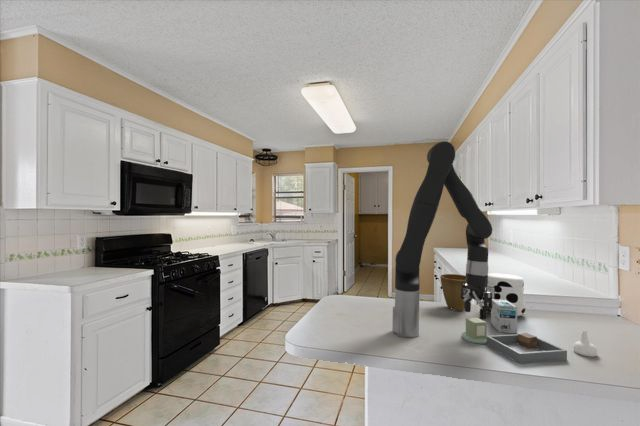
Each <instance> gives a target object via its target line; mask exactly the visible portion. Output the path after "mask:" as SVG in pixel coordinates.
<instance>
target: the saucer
mask: <svg viewBox="0 0 640 426" xmlns="http://www.w3.org/2000/svg"><path fill="white" fill-rule="evenodd" d="M487 336H488V335H487ZM487 336H486V339H473V338H472V337H470V336H468V335H466V331H464V332H461V338H462V339H463V340H464V341H467V342H469V343H473V344H477V345H478V344H479V345H487Z"/></svg>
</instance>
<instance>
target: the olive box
mask: <svg viewBox="0 0 640 426" xmlns="http://www.w3.org/2000/svg"><path fill="white" fill-rule="evenodd" d="M487 327H488V326H487V321H485V320H481V319H480V317H479V318H478V317H472V318H471V317H469V318H465V332H466V335H468V336H470V337H472V338H473V339H486V336H488V335H487V333H488V332H487V331H488V330H487Z"/></svg>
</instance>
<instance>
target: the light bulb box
mask: <svg viewBox="0 0 640 426" xmlns="http://www.w3.org/2000/svg"><path fill="white" fill-rule="evenodd" d="M490 324H491V325H492V326H493V327H494V328H495V329H496V330H497V331H498V332H499V333H509V334H518V317H517V306H515V305H513V304H512V303H510V302H509V301H507V300H497V299H492V309H491V313H490Z"/></svg>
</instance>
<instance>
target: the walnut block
mask: <svg viewBox="0 0 640 426" xmlns="http://www.w3.org/2000/svg"><path fill="white" fill-rule="evenodd" d="M517 334H518V343H517V345H518V346H520V347H522V348H525V349H528V350H533V349H537V348H538V347H537V338H538V336H536V335H534V334H531V333H528V332H521V333H517Z"/></svg>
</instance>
